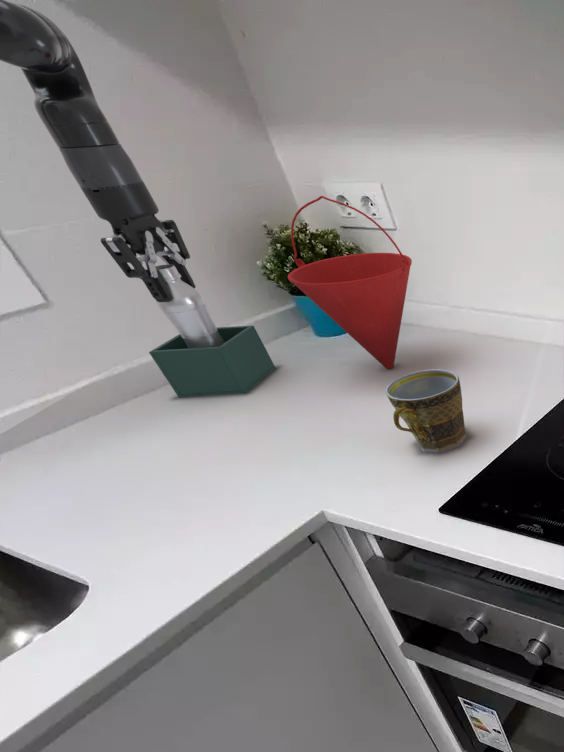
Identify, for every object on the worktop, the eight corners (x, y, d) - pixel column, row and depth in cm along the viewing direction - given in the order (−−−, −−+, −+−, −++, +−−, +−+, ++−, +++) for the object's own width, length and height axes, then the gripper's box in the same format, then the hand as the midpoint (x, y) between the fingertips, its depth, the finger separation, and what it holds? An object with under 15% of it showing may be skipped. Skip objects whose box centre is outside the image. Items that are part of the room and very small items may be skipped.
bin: (180, 399, 99) (148, 352, 94) (214, 374, 108) (187, 329, 102) (248, 395, 100) (220, 347, 94) (277, 370, 109) (253, 325, 103)
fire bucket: (464, 352, 113) (417, 184, 94) (415, 395, 98) (347, 206, 79) (369, 348, 116) (304, 185, 97) (307, 390, 101) (216, 207, 82)
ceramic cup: (430, 425, 90) (409, 367, 83) (487, 429, 88) (470, 370, 82) (384, 470, 80) (356, 408, 73) (447, 475, 78) (425, 412, 72)
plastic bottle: (224, 389, 100) (155, 274, 88) (197, 384, 102) (126, 271, 89) (255, 374, 105) (194, 263, 92) (229, 370, 107) (166, 261, 94)
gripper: (118, 175, 88) (180, 283, 99) (46, 190, 77) (124, 310, 88) (167, 173, 89) (224, 281, 99) (102, 187, 78) (173, 308, 88)
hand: (177, 294), depth 94 cm, fingers closed on plastic bottle, 6 cm apart
